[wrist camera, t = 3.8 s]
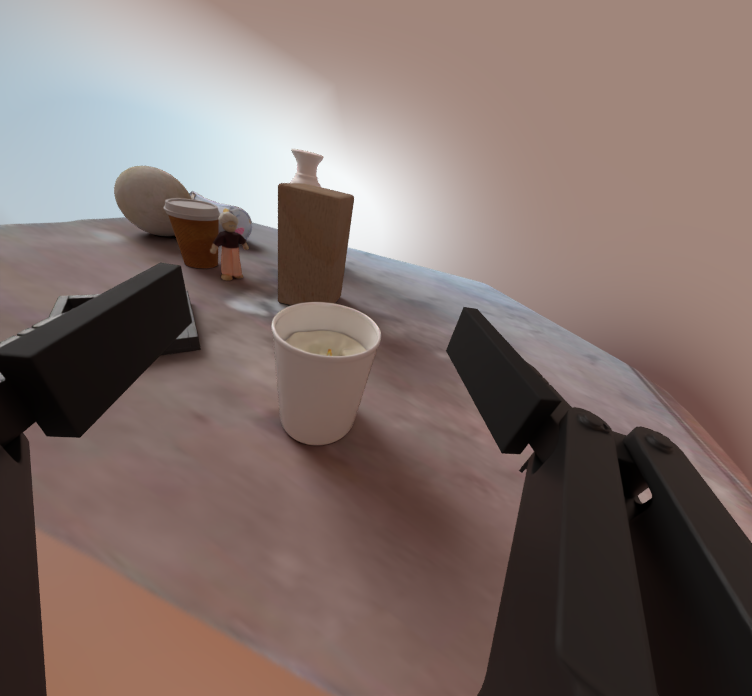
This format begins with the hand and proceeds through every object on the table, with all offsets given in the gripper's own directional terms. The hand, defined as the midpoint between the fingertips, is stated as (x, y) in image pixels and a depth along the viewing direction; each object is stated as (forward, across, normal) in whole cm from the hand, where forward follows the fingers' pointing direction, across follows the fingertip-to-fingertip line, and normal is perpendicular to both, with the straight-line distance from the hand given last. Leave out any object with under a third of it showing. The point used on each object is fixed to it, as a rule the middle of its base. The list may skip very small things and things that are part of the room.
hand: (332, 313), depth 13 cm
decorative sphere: (+67, -44, -18) cm, 82 cm away
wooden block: (+41, -4, -18) cm, 45 cm away
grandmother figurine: (+46, -21, -18) cm, 54 cm away
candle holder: (+10, 0, -18) cm, 21 cm away
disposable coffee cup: (+51, -29, -18) cm, 61 cm away
